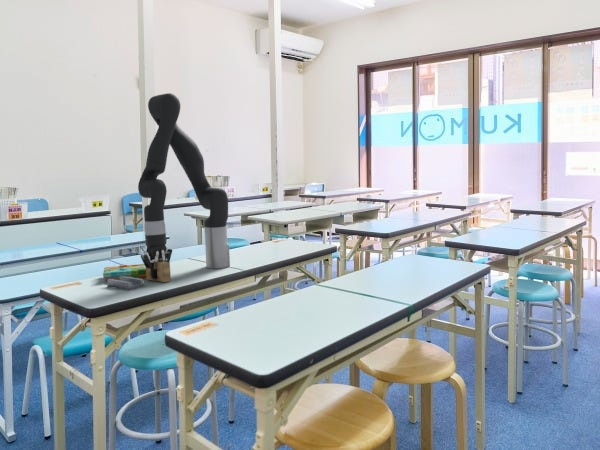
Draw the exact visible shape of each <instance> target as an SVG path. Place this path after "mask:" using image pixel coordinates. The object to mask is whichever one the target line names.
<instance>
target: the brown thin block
mask: <svg viewBox="0 0 600 450" xmlns="http://www.w3.org/2000/svg"><path fill="white" fill-rule="evenodd" d="M153 261H154V260H153ZM156 269H157V279H153V278H152V277H151V269H150V268H146V275H147V278H146V280H148V281H154V282H155V281H156V282H160V283H161V282H162V283H166V282H167V283H168V282H170V281H171V280H172V277H171V262H164V261H158V263H157V267H156Z"/></svg>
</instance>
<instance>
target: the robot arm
mask: <svg viewBox="0 0 600 450" xmlns="http://www.w3.org/2000/svg"><path fill="white" fill-rule="evenodd" d="M147 107H148V111H149V114H150V116H151V117H152V119H153V121H154V122H155V123H156V125H157V126H158V128H157V131H156V133H155V135H154V137H153V139H152V140H151V143H150V145H149V148H148V151H147V157H146V163H145V167H144V169H143V171H142V173H141V176H140V179H139V181H138V183H137V189H138V193H139V195H140V197H142V198H145V199H150V202H149V204H146V205H145V206H144V207H143V208H144V209H143V215H144V228H143V229H144V237H145V238H144V239H145V240H144V241H145V246H146V251H145V252H144V253H143V254H142V253H141V254H140V259H141V260H142V264H144V265H145V267H146V268H150V269H151V277H152V278H153V279H157V269H156V267H157V263H158V261H164V262H170V261H171V257H172V255H173V249H171V248H168V247H167V246H166V245H167V232H166V224H165V213H164V208H165V204H166V198H167V185H166V183H165V181H164V180H162V179H159V178H158V177H159V176H160V175H162V174H164V172H165V171H166V166H167V160H168V155H169V154H168V153H169V149H170V147H171V149H172V151H173V153H174V154H175V156H176V158H177V160H178V163H179V164H180V165H181V167H182V169H183V171H184V173H185V174H186V177H187V178H188V180H189V181H190V183H191V185H192V188H193V191H194V193H195V195H196V198H197V200H198V202H199V205H201V206H202V208H203V209H205V210H209V216H208V218H205V219H204V222H203V229H204V243H205V244H204V245H205V248H204V249H205V264H206V268H207V269H224V268H228V267H230V266H231V260H230V259H231V257H230V256H231V255H230V244H229V243H228V228H227V227H228V226H227V224H228V223H227V222H228V220H229V198H228V194H227V192H226V190H225V189H223V188H220V187H212V186H211V184H210V183H209V180H208V179H207V177H206V174H205V159H204V157H203V154H202V152H201V151H200V148H199V147H198V145H197V143H196V142H195V141H194V139H193V138H192V137H190V136H189V135H188V134H187V133H186V132H185V131H184V130H182V129H181V128H180V126H179V125H178V123H177V121H178V119H179V116H180V113H181V112H180V111H181V102H180V100H179V98H178V96H177V95H175V94H174V93H171V92H170V93H163V94H158V95H154V96H152V97H150V99H149V100H148V103H147ZM153 260H154V261H153ZM170 263H171V262H170Z"/></svg>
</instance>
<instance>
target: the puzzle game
mask: <svg viewBox="0 0 600 450" xmlns="http://www.w3.org/2000/svg"><path fill="white" fill-rule="evenodd" d="M102 276H103V277H102V278H103V279H105V281H106V283H108V279H115V280H120V276H127V277H132V278H138V279H143V280H144V279H147V275H146V267H145V265H144V263H140V264H119V265H118V266H117V265H115V266H105V267H104V268H103V274H102Z"/></svg>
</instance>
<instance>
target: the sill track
mask: <svg viewBox="0 0 600 450" xmlns="http://www.w3.org/2000/svg"><path fill="white" fill-rule="evenodd" d="M106 286H108V288H114V289H119V290H124V291H128V292H129V291H132V290H137V289H138V288H143V287H145V283H144V279H138V278H132V277H127V276H120V280H115V279H108V282H107V285H106Z"/></svg>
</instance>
